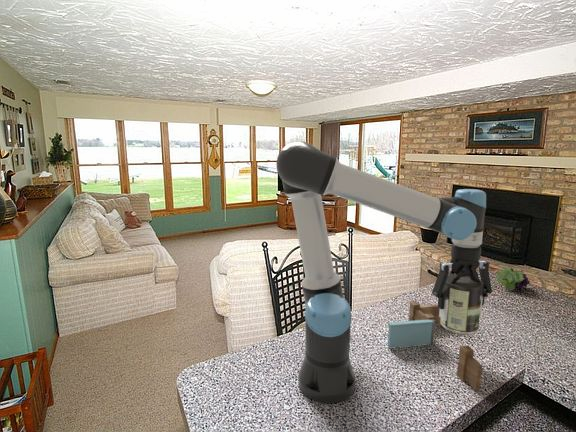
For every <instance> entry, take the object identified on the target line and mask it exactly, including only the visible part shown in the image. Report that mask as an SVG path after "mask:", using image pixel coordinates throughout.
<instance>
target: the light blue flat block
mask: <svg viewBox="0 0 576 432" xmlns="http://www.w3.org/2000/svg"><path fill="white" fill-rule="evenodd" d="M387 325H388V330H387V331H388V333H387V334H388V335H387V347H388V348H389V349H394V348H395V349H396V348H402V347H403V348H405V347H416V346H426V345H427V346H428V345H434V339H435V328H436V325H435V320H433V319H428V320H415V321H409V320H403V321H392V322H390V321H389V322H388V323H387Z"/></svg>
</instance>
